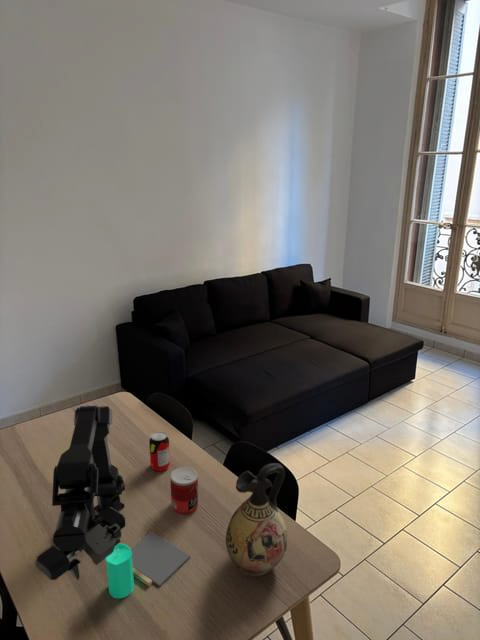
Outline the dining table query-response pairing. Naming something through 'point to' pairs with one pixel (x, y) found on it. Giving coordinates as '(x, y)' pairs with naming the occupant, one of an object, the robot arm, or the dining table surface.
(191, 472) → the canned food
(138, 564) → the mat
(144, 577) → the strip
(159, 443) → the beverage can
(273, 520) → the ceramic jug
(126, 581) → the candle
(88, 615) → the dining table surface
